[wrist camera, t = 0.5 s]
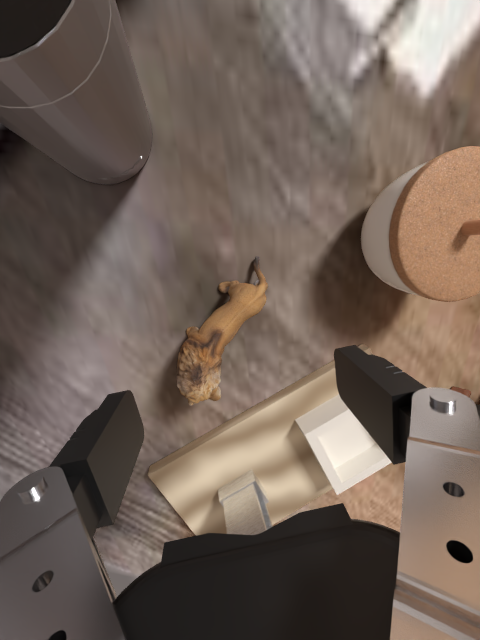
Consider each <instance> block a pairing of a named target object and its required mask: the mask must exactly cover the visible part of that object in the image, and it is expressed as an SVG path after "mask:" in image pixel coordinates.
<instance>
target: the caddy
mask: <svg viewBox="0 0 480 640" xmlns="http://www.w3.org/2000/svg"><path fill="white" fill-rule="evenodd" d="M295 421H296V423H297V424H298V426H299V428H300V430H301V432H302V434H303V435H304V437H305V439H306V441H307V443H308V445H309V447H310V448H311V450H312V452H313V454H314V456H315V458H316V460H317V461H318V463H319V465H320V467H321V469H322V471H323V473H324V474H325V476H326V478H327V479H328V481H329V483H330V484H331V486H332V488H333V489H334V491H335V493H336V494H337V495H338V494H340V493H341V492H343V491H345V490H346V489H348V488H350V487H352V486H353V485H355V484H357V483H358V482H360V481H362V480H363V479H365V478H367V477H368V476H370V475H372V474H373V473H375V472H377V471H378V470H380V469H382V468H383V467H385V466H387V465H388V464H390V463H392V462H391V461H390V459H389V458H388V457H387V456H386V454H385V453H384V452H383V451H382V449H381V448H380V447H379V446H378V444H377V443H376V442H375V441H374V439H373V438H372V437H371V436H370V434H369V433H368V432H367V431H366V429H365V428H364V427H363V426H362V424H361V423H360V422H359V421H358V419H357V418H356V417H355V416H354V415H353V413H352V412H351V411H350V410H349V408H348V407H347V406H346V405H345V403H344V402H343V401H342V399H341V397H340V395H339V394H338V395H337V396H335V397H333V398H331V399H330V400H328V401H326V402H325V403H323V404H321V405H319V406H318V407H316V408H314V409H313V410H311V411H309V412H307V413H306V414H304V415H302V416H300V417H299V418H297V419H295Z"/></svg>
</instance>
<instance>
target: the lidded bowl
mask: <svg viewBox="0 0 480 640" xmlns="http://www.w3.org/2000/svg"><path fill="white" fill-rule="evenodd" d="M361 246H362V252H363V255H364V258H365V260H366V262H367V264H368V266H369V268H370V269H371V270H372V272H373V273H374V274H375V275H376V276H377V277H378V278H379V279H381V280H382V281H383V282H385V283H386V284H388V285H390V286H392V287H394V288H396V289H399V290H401V291H404V292H407V293H410V294H414V295H419V296H422V297H425V298H428V299H432V300H438V301H445V302H450V301H459V300H463V299H467V298H469V297H472V296H474V295H476V294H478V293H479V292H480V147H477V146H469V147H461V148H458V149H455V150H452V151H449V152H446V153H444V154H442V155H440V156H438V157H436V158H434V159H432V160H431V161H428V162H426V163H424V164H422V165H419V166H417V167H416V168H414V169H412V170H410V171H408V172H406V173H405V174H403V175H401V176H400V177H399V178H397V179H396V180H395V181H393V182H392V183H391V184H389V185H388V186H387V187H386V188H385V189H384V190H383V191H382V192H381V193H380V194H379V195H378V196H377V198H376V199H375V200H374V202H373V203H372V204H371V206H370V208H369V210H368V212H367V214H366V217H365V220H364V222H363V227H362V232H361Z"/></svg>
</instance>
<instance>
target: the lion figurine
mask: <svg viewBox="0 0 480 640" xmlns="http://www.w3.org/2000/svg"><path fill="white" fill-rule="evenodd" d="M253 265H254V270H255V272H256V274H257V276H258V279H259V280H257V281H256V282H255V283H254V285H253V284H249V283H239V282H238V281H231V282H228V281H226V282H222V283H220V284H219V287H218V289H219V290H220V291H221V292H222V293H226V292H228V294H229V295H230V300H229V301H228V302H227V303H226V304H224V305H223V306H221V307H220V308H218V309H217V310H215V311H214V312H213V313H212V314H211V315H210V317H209V318H208V319H207V320H206V321H205V322H204V323H203V325H202V326H201V328H200V329H199V328H197V327H189V328H188V329H187V330H186V334H187V335H188V339H187V340H186V341H185V342H184V343H183V345H182V347H181V348H180V353H179V355H178V364H177V371H178V374H177V377H176V379H177V387H178V388H179V390H180V392H181V394H182V395H184V396H185V397H186V398H187V399H188V403H189V405H191V406H192V405H193V404H194V403H199V402H200V401H204V400H207V399H210V400H213V401H217V400H219V399H220V398H221V394H220V393H221V391H220V388H219V387H218V384H219V383H220V381H221V380H220V375H221V368H220V365H221V363H222V359H221V355H222V353H223V351H224V347H225V346H226V345H227V344H228V343H229V342H230V341H231V340H232V339H233V337H234V336H235V335H236V333H237V332H238V330H239V328H240V327H241V325H242V324H243V323H244V321H246V320H247V319H248V318H250V317H252V316H254V315H256V314H258V313H259V312H260V311H261V309H262V308H263V306H264V305H265V303H266V296H265V290H266V289H267V287H268V284H267V283H266V280H265V278H264V276H263V274H262V273H261V271H260V268H259V257H258V256H256V257H255V260H254V264H253Z"/></svg>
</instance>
